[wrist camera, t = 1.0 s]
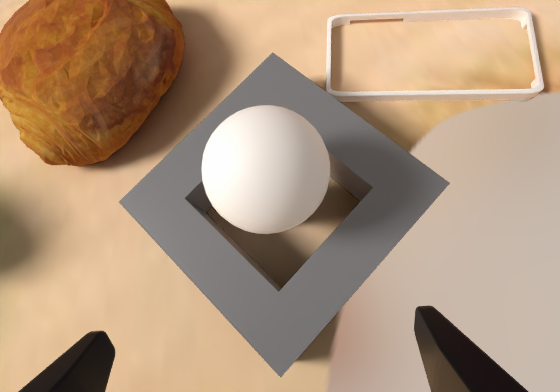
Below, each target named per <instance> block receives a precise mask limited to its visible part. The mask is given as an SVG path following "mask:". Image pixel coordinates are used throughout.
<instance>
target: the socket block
mask: <svg viewBox="0 0 560 392" xmlns="http://www.w3.org/2000/svg"><path fill="white" fill-rule="evenodd" d="M259 105H273V106H279V107H284V108H287V109H289V110H292V111H294V112H296V113H297V114H299V115H301V116H302V117H304V118H305V119H306V120H307V121H308V122H309V123H310V124H311V125H313V126H314V127H315V129H316V130H317V132H318V133H319V134H320V136H321V137H322V139H323V142H324V144H325V146H326V149H327V151H328V155H329V160H330V177H332V178H333V179H334V180H335V181H336V182H338V183H339V184H340V185H341V186H342V187H344V188H345V189H346V190H347V191H349V192H350V193H351V194H352V195H353V196H355V197H356V198H357V199H358V200H360V201H361V202H360V203H359V204H358V205H357V206H356V207H355V208H354V209H353V210H352V211H351V213H350V214H349V215H348V216H347V217H346V218H345V219H344V220H343V221H342V222H341V224H340V225H339V226H338V227H337V228H336V229H335V230H334V231H333V232H332V234H331V235H330V236H329V237H328V238H327V239H326V240H325V241H324V242H323V243H322V245H321V246H320V247H319V248H318V249H317V250H316V251H315V252H314V253H313V254H312V256H311V257H310V258H309V259H308V260H307V261H306V262H305V263H304V264H303V265H302V267H301V268H300V269H299V270H298V271H297V272H296V273H295V274H294V275H293V277H292V278H291V279H290V280H289V281H288V282H287V283H286V284H285V285H284V286H283V288H281V287H280V286H279V285H278V284H277V283H276V282H275V281H274V280H273V279H272V278H271V277H270V276H269V275H268V274H267V273H266V272H265V271H264V270H263V269H262V268H261V267H260V266H259V265H258V264H257V263H256V262H255V261H254V260H253V259H252V258H251V257H250V256H249V255H248V254H247V253H246V252H245V251H244V250H243V249H242V248H241V247H240V246H239V245H238V244H237V243H236V242H235V241H234V240H233V239H232V238H231V237H230V236H229V235H228V234H227V233H226V232H225V231H224V230H223V229H222V228H221V227H219V226H218V225H217V224H216V223H215V222H214V221H213V220H212V219H211V218H210V217H209V216H208V215H207V214H206V212H207V211H208V210H209V209H210V208H211V207H212V204H211V202H210V200H209V198H208V197H207V194H206V191H205V188H204V185H203V181H202V159H203V153H204V150H205V147H206V144H207V142H208V140H209V138H210V136H211V135H212V133H213V132H214V131H215V129H216V128H217V127H218V126H219V125H220V124H221V123H222V122H223V121H224V120H226V119H227V118H228V117H229V116H231V115H233V114H234V113H236V112H238V111H240V110H243V109H246V108H249V107H254V106H259ZM448 185H449V182H447V181H446V180H445V179H444V178H442V177H441V176H439V175H438V174H437V173H435V172H434V171H433V170H431V169H430V168H429V167H427V166H426V165H425V164H423V163H422V162H420V161H419V160H418V159H416V158H415V157H414V156H412V155H411V154H410V153H408V152H407V151H406V150H404V149H403V148H402V147H400V146H399V145H397V144H396V143H395V142H393V141H392V140H391V139H389V138H388V137H387V136H385V135H384V134H383V133H381V132H380V131H378V130H377V129H376V128H374V127H373V126H372V125H370V124H369V123H368V122H366V121H365V120H364V119H362V118H361V117H360V116H358V115H357V114H355V113H354V112H353V111H351V110H350V109H349V108H347V107H346V106H345V105H343V104H342V103H341V102H339V101H338V100H336V99H335V98H334V97H332V96H331V95H330V94H328V93H327V92H326V91H324V90H323V89H322V88H320V87H319V86H317V85H316V84H315V83H313V82H312V81H311V80H309V79H308V78H307V77H305V76H304V75H303V74H301V73H300V72H299V71H297V70H296V69H294V68H293V67H292V66H290V65H289V64H288V63H286V62H285V61H284V60H282V59H281V58H280V57H278V56H277V55H275V54H274V53H272V54H271V55H270V56H269V57H268V58H267V59H266V60H265V61H264V62H262V63H261V64H260V65H259V66H258V67H257V68H256V69H255V70H254V71H253V72H252V73H251V74H250V75H249V76H248V77H247V78H246V79H245V80H244V81H243V82H242V83H241V84H240V85H239V86H238V87H237V88H236V89H235V90H234V91H233V92H232V93H231V94H230V95H228V96H227V97H226V98H225V99H224V100H223V101H222V102H221V103H220V104H219V105H218V106H217V107H216V108H215V109H214V110H213V111H212V112H211V113H210V114H209V115H208V116H207V117H206V118H205V119H204V120H203V121H202V122H201V123H200V124H199V125H198V126H197V127H196V128H194V129H193V130H192V131H191V132H190V133H189V134H188V135H187V136H186V137H185V138H184V139H183V140H182V141H181V142H180V143H179V144H178V145H177V146H176V147H175V148H174V149H173V150H172V151H171V152H170V153H169V154H168V155H167V156H166V157H165V158H164V159H163V160H162V161H161V162H159V163H158V164H157V165H156V166H155V167H154V168H153V169H152V170H151V171H150V172H149V173H148V174H147V175H146V176H145V177H144V178H143V179H142V180H141V181H140V182H139V183H138V184H137V185H136V186H135V187H134V188H133V189H132V190H131V191H130V192H129V193H128V194H127V195H125V196H124V197H123V198H122V199H121V200H120V201H119V203H120V204H121V205H122V206H123V207H124V208H125V209H126V210H127V211H128V212H129V214H130V215H131V216H132V217H133V218H134V219H135V220H136V221H137V222H138V223H139V224H140V225H141V227H142V228H143V229H144V230H145V231H146V232H147V233H148V234H149V235H150V236H151V237H152V238H153V240H154V241H155V242H156V243H157V244H158V245H159V246H160V247H161V248H162V249H163V250H164V251H165V253H166V254H167V255H168V256H169V257H170V258H171V259H172V260H173V261H174V262H175V263H176V265H177V266H178V267H179V268H180V269H181V270H182V271H183V272H184V273H185V274H186V275H187V276H188V278H189V279H190V280H191V281H192V282H193V283H194V284H195V285H196V286H197V287H198V288H199V289H200V291H201V292H202V293H203V294H204V295H205V296H206V297H207V298H208V299H209V300H210V301H211V302H212V304H213V305H214V306H215V307H216V308H217V309H218V310H219V311H220V312H221V313H222V314H223V315H224V317H225V318H226V319H227V320H228V321H229V322H230V323H231V324H232V325H233V326H234V327H235V328H236V330H237V331H238V332H239V333H240V334H241V335H242V336H243V337H244V338H245V339H246V340H247V342H248V343H249V344H250V345H251V346H252V347H253V348H254V349H255V350H256V351H257V352H258V353H259V355H260V356H261V357H262V358H263V359H264V360H265V361H266V362H267V363H268V364H269V365H270V366H271V368H272V369H273V370H274V371H275V372H276V373H277V374H278V375H279V376H280V377H282V375H283V374H284V373H285V372H286V371H287V370H288V369H289V367H290V366H291V365H292V364H293V363H294V362H295V361H296V359H297V358H298V357H299V356H300V355H301V354H302V352H303V351H304V350H305V349H306V348H307V347H308V346H309V344H310V343H311V342H312V341H313V340H314V339H315V338H316V336H317V335H318V334H319V333H320V332H321V331H322V329H323V328H324V327H325V326H326V325H327V324H328V323H329V321H330V320H331V319H332V318H333V317H334V316H335V315H336V313H337V312H338V311H339V310H340V309H341V308H342V306H343V305H344V304H345V303H346V302H347V301H348V300H349V298H350V297H351V296H352V295H353V294H354V292H356V290H357V289H358V288H359V287H360V286H361V285H362V283H363V282H364V281H365V280H366V279H367V278H368V276H369V275H370V274H371V273H372V272H373V271H374V269H376V267H377V266H378V265H379V264H380V263H381V262H382V261H383V259H384V258H385V257H386V256H387V255H388V254H389V252H390V251H391V250H392V249H393V248H394V247H395V246H396V244H397V243H398V242H399V241H400V240H401V239H402V237H403V236H404V235H405V234H406V233H407V232H408V231H409V229H410V228H411V227H412V226H413V225H414V224H415V223H416V221H417V220H418V219H419V218H420V217H421V216H422V215H423V213H424V212H425V211H426V210H427V209H428V208H429V206H430V205H431V204H432V203H433V202H434V201H435V199H436V198H437V197H438V196H439V195H440V194H441V193H442V192H443V190H444V189H445V188H446V187H447V186H448Z"/></svg>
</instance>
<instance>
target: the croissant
mask: <svg viewBox="0 0 560 392" xmlns="http://www.w3.org/2000/svg"><path fill="white" fill-rule="evenodd" d="M183 40H184V35H183V32H182V25H181V23H180V22H179V21H178V20H177V19H176V17H175V16H174V15H173V13H172V11H171V9H170V7H169V5H168V4H167V2H166V1H165V0H29V1H28V2H27V3H26V4H24V5H23V6H22V7H21V8H20V9H18V10H17V11H16V12H15V13H14V14H13V16H12V17H11V18H10V19H9V20H8V22H7V23H6V24H5V25H4V27H3V29H2V31H1V33H0V99H1V101H2V102H3V105H4V106H5V107H6V108H7V109H8V110H9V112H10V115H11V118H12V121H13V124H14V125H15V126H16V128H17V129H18V130H20V139H21V140H22V141H23V142H24V144H25V145H26V146H27V147H28V148H30V149H31V150H33V151H34V152H35V153H36V154H38V155H39V156H40V158H41V159H42V160H43V161H44V162H45V163H47V164H50V165H66V164H67V165H68V166H69V165H73V166H83V165H86V164H94V163H96V162H98V161H104V160H106V159H107V158H109V157H110V156H111V155H112V154H113V153H114V152H115V151H117V150H118V149H120V148H121V147H122V146H124V145H125V144H126V143H127V142H128V141H129V139H130V138H131V136H132V135H133V134H134V133H135V132H136V131H137V130H138V129H139V127H140V126H141V125H142V124H143V122H144V121H145V120H146V118H147V117H148V115H149V114H150V112H151V111H152V110H153V109H154V108H155V106H156V105H157V104H158V102H159V100H160V97H161V96H162V95H164V94H165V93H166V92H167V90H168V89H169V88H170V86H171V85H172V83H173V81H174V80H175V78H176V76H177V74H178V72H179V69H180V66H181V63H182V58H183V54H184V45H185V44H184V41H183Z"/></svg>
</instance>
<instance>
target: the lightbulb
mask: <svg viewBox="0 0 560 392" xmlns="http://www.w3.org/2000/svg"><path fill="white" fill-rule="evenodd" d="M329 179H330V160H329V155H328V151H327V149H326V146H325V144H324V142H323V139H322V137H321V136H320V134H319V133H318V132H317V130H316V129H315V127H314V126H313V125H311V124H310V123H309V122H308V121H307V120H306V119H305V118H304V117H302V116H301V115H299V114H297V113H296V112H294V111H292V110H289V109H287V108H284V107H279V106H273V105H259V106H254V107H249V108H246V109H243V110H240V111H238V112H236V113H234V114H233V115H231V116H229V117H228V118H227V119H226V120H224V121H223V122H222V123H221V124H220V125H219V126H218V127H217V128H216V129H215V131H214V132H213V133H212V135H211V136H210V138H209V140H208V142H207V144H206V147H205V150H204V153H203V159H202V181H203V185H204V188H205V191H206V194H207V197H208V198H209V200H210V202H211V204H212V206H213V207H214V208H215V210H216V211H217V212H218V213H219V214H220V215H221V216H222V217H223V218H224V219H226V220H227V221H228V222H230V223H231V224H232V225H234V226H236V227H238V228H240V229H242V230H244V231H248V232H252V233H257V234H272V233H279V232H283V231H286V230H289V229H291V228H294V227H296V226H297V225H299V224H301V223H302V222H304V221H305V220H306V219H308V218H309V217H310V216H311V215H312V214H313V213H314V212H315V211H316V209H317V208H318V207H319V205H320V204H321V202H322V200H323V198H324V196H325V194H326V192H327V188H328V184H329Z"/></svg>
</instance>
